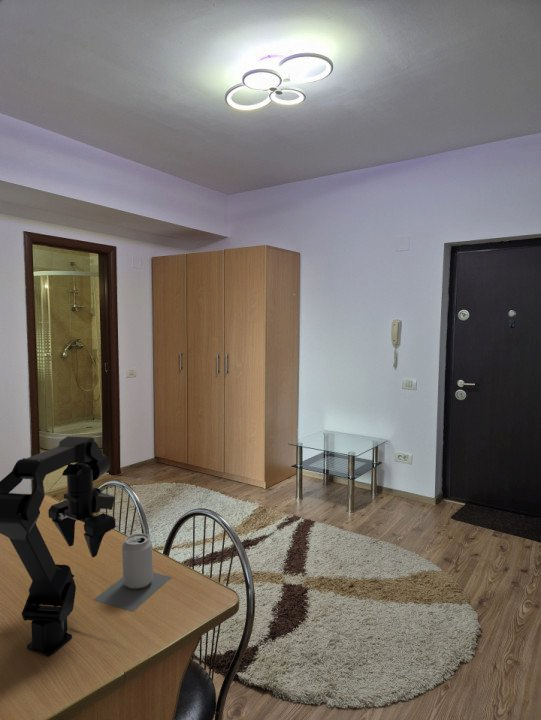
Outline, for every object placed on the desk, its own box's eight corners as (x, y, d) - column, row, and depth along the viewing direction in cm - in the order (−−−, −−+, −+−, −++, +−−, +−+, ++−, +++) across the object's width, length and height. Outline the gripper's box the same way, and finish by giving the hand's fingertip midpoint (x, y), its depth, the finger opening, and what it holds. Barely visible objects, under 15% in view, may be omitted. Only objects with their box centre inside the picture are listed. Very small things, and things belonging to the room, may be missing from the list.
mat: (133, 613, 111) (133, 611, 111) (93, 602, 115) (93, 599, 115) (172, 579, 126) (172, 577, 125) (135, 569, 130) (135, 567, 130)
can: (150, 590, 119) (149, 544, 118) (120, 591, 118) (118, 545, 117) (155, 574, 126) (154, 530, 125) (126, 575, 125) (125, 532, 124)
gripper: (133, 486, 114) (134, 548, 115) (86, 471, 124) (88, 528, 126) (93, 501, 105) (95, 568, 106) (45, 484, 115) (48, 545, 117)
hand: (82, 551), depth 114 cm, fingers open, 9 cm apart
